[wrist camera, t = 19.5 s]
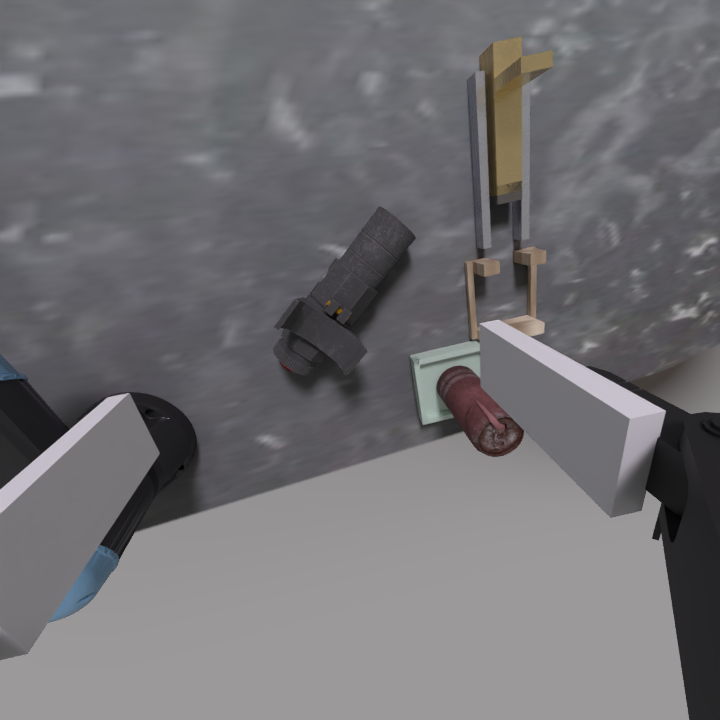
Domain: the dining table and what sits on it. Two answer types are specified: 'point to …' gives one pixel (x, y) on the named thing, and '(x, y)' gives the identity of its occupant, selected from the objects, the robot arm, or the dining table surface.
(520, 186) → the keeper bolt
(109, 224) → the dining table surface
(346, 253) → the laser sight
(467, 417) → the can
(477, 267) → the socket
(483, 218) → the keeper guide
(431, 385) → the pale green shallow tray
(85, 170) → the dining table surface
